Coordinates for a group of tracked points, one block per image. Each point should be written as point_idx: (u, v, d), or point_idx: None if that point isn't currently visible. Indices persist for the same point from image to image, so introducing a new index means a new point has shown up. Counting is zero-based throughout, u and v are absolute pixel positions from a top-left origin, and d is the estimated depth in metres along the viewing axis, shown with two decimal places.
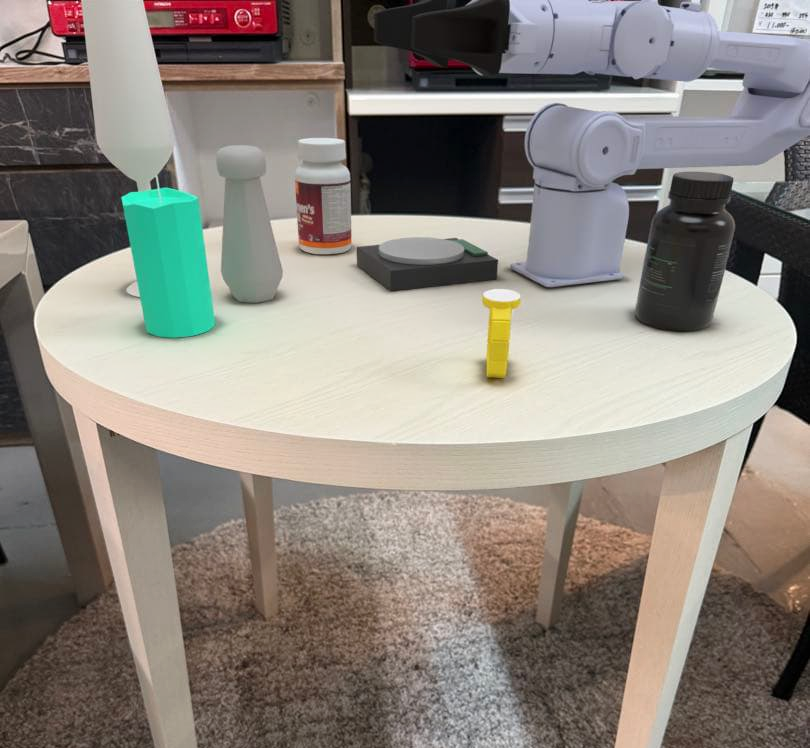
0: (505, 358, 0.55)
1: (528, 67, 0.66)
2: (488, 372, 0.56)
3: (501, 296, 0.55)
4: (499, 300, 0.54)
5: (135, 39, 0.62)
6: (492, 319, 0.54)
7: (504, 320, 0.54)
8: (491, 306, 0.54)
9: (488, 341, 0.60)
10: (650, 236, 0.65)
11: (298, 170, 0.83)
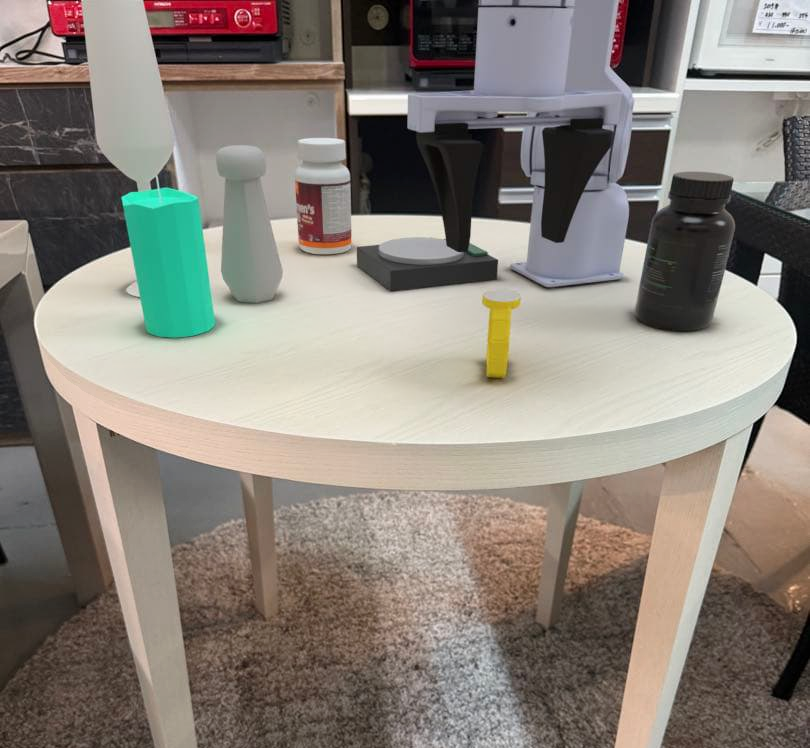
0: (505, 358, 0.55)
1: None
2: (488, 372, 0.56)
3: (501, 296, 0.55)
4: (499, 300, 0.54)
5: (135, 39, 0.62)
6: (492, 319, 0.54)
7: (504, 320, 0.54)
8: (491, 306, 0.54)
9: (488, 341, 0.60)
10: (650, 236, 0.65)
11: (298, 170, 0.83)
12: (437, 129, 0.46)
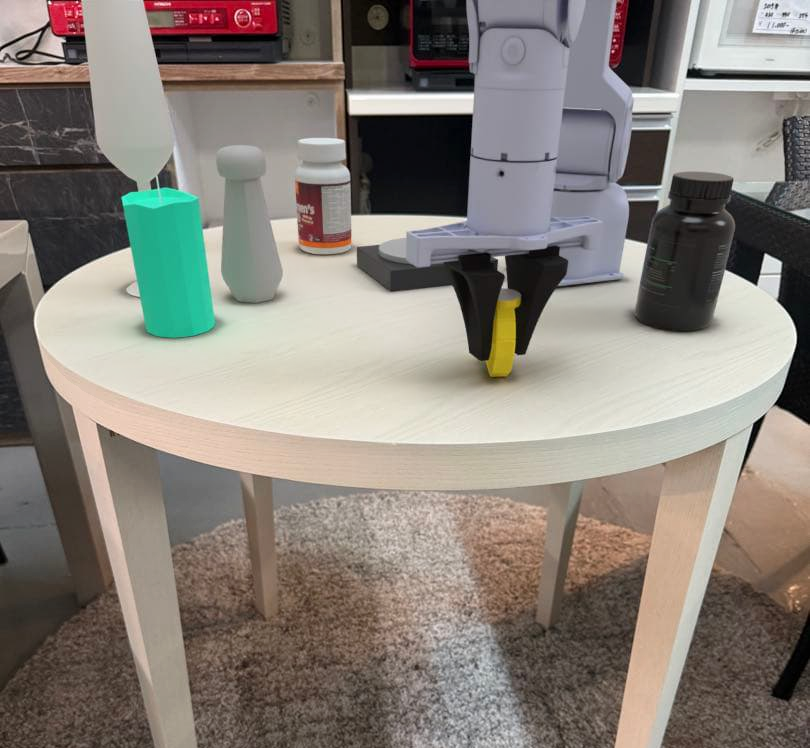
0: (511, 356, 0.55)
1: None
2: (493, 372, 0.56)
3: (502, 295, 0.55)
4: (502, 299, 0.54)
5: (135, 39, 0.62)
6: (497, 318, 0.54)
7: (509, 319, 0.54)
8: None
9: None
10: (650, 236, 0.65)
11: (298, 170, 0.83)
12: (463, 260, 0.52)
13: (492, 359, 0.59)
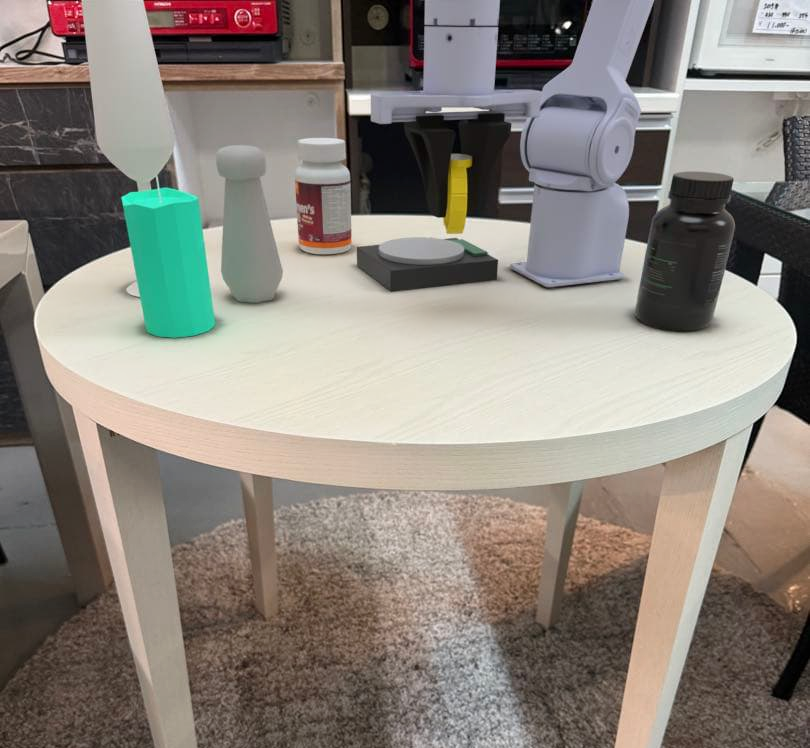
0: (464, 210, 0.63)
1: None
2: (449, 227, 0.65)
3: (455, 157, 0.63)
4: (455, 159, 0.63)
5: (135, 39, 0.62)
6: (451, 175, 0.63)
7: (461, 176, 0.63)
8: None
9: None
10: (650, 236, 0.65)
11: (298, 170, 0.83)
12: (420, 120, 0.60)
13: None
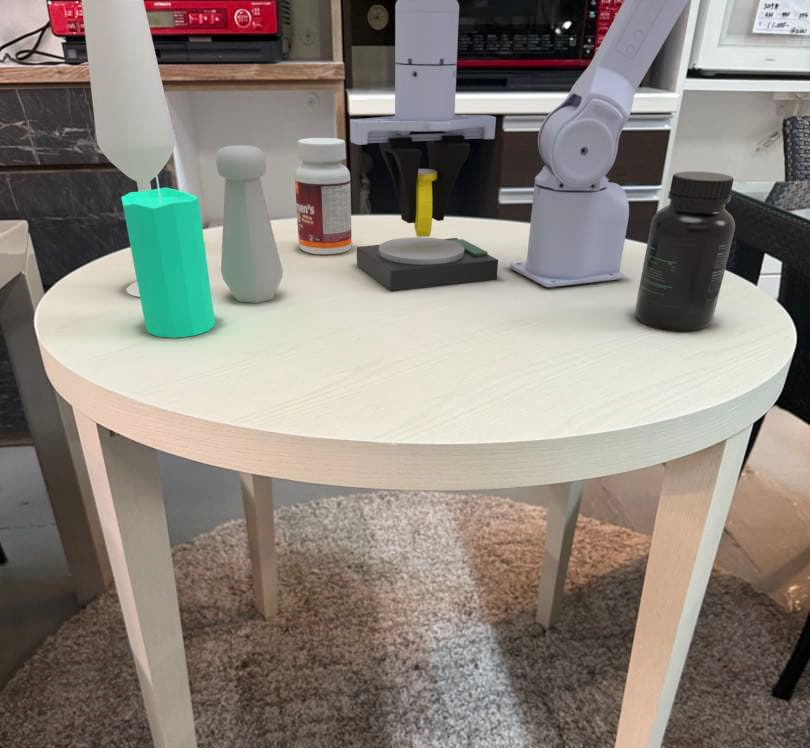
0: (430, 217, 0.75)
1: None
2: (418, 230, 0.76)
3: (423, 172, 0.75)
4: (422, 173, 0.74)
5: (135, 39, 0.62)
6: (418, 187, 0.74)
7: (427, 188, 0.74)
8: (417, 179, 0.74)
9: None
10: (650, 236, 0.65)
11: (298, 170, 0.83)
12: (391, 141, 0.72)
13: None
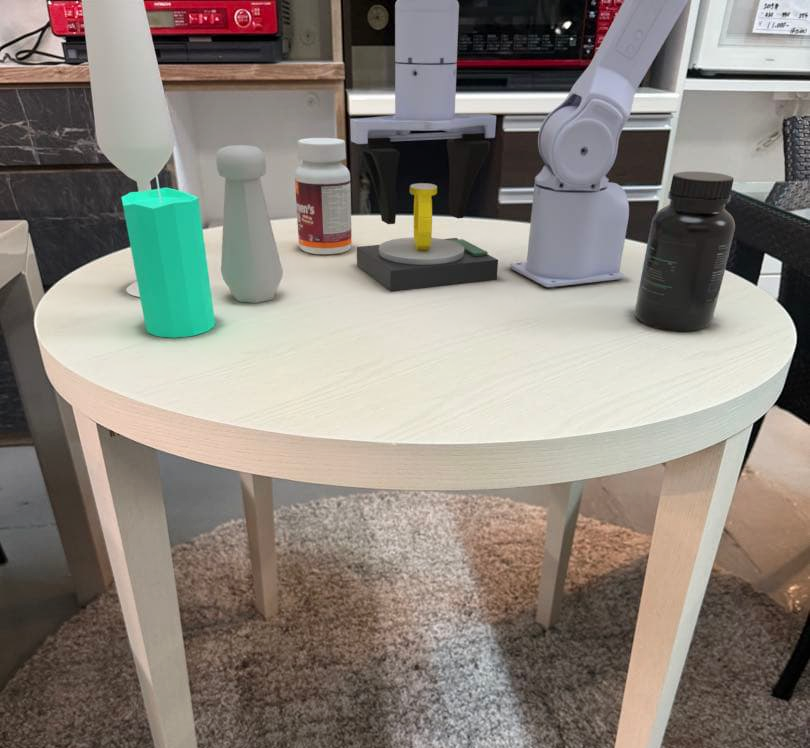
0: (429, 231, 0.76)
1: None
2: (418, 244, 0.77)
3: (423, 186, 0.76)
4: (422, 188, 0.75)
5: (135, 39, 0.62)
6: (418, 202, 0.75)
7: (427, 202, 0.75)
8: (417, 193, 0.75)
9: (414, 226, 0.80)
10: (650, 236, 0.65)
11: (298, 170, 0.83)
12: (369, 142, 0.71)
13: None
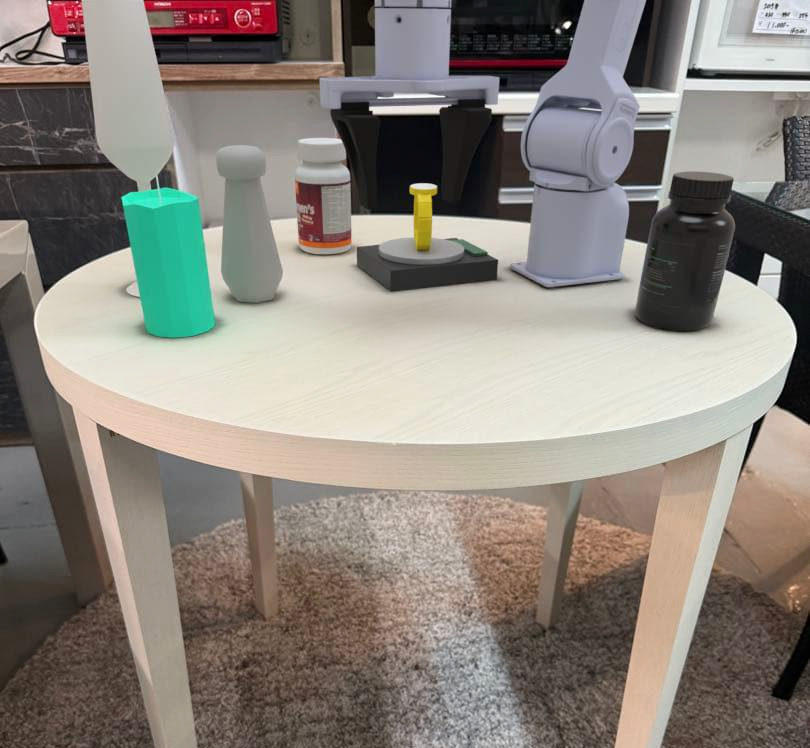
0: (429, 231, 0.76)
1: None
2: (418, 244, 0.77)
3: (423, 186, 0.76)
4: (422, 188, 0.75)
5: (135, 39, 0.62)
6: (418, 202, 0.75)
7: (427, 202, 0.75)
8: (417, 193, 0.75)
9: (414, 226, 0.80)
10: (650, 236, 0.65)
11: (298, 170, 0.83)
12: (343, 106, 0.57)
13: None
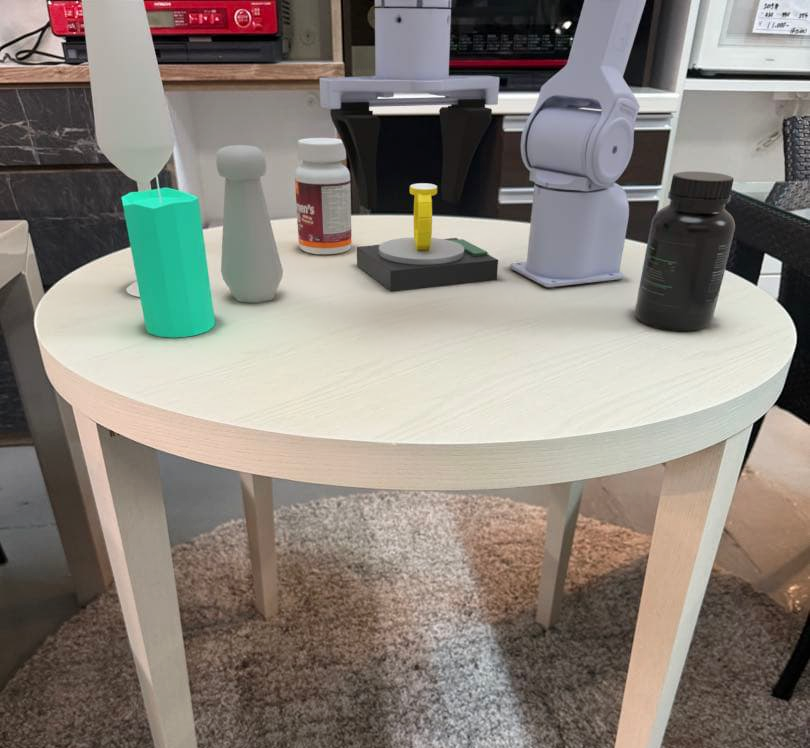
0: (429, 231, 0.76)
1: None
2: (418, 244, 0.77)
3: (423, 186, 0.76)
4: (422, 188, 0.75)
5: (135, 39, 0.62)
6: (418, 202, 0.75)
7: (427, 202, 0.75)
8: (417, 193, 0.75)
9: (414, 226, 0.80)
10: (650, 236, 0.65)
11: (298, 170, 0.83)
12: (343, 106, 0.57)
13: None
